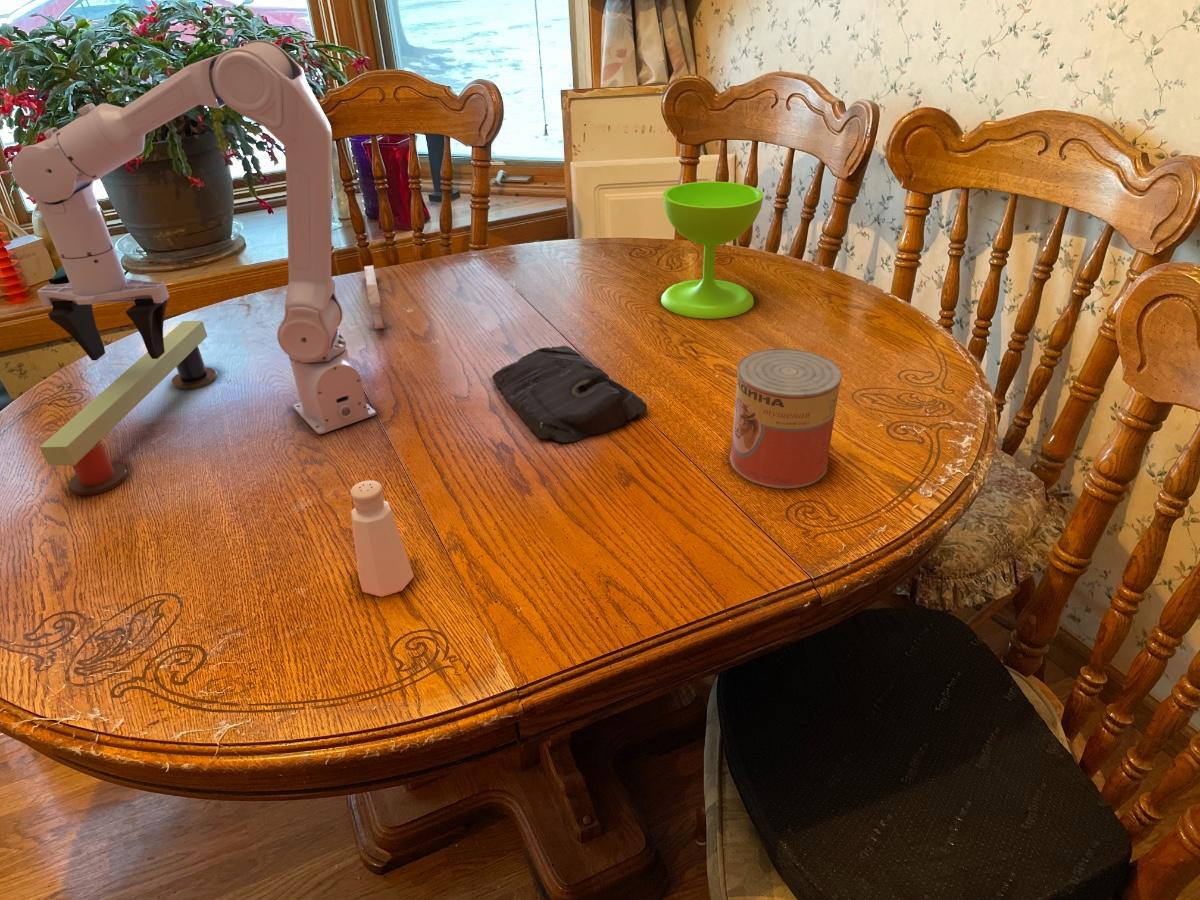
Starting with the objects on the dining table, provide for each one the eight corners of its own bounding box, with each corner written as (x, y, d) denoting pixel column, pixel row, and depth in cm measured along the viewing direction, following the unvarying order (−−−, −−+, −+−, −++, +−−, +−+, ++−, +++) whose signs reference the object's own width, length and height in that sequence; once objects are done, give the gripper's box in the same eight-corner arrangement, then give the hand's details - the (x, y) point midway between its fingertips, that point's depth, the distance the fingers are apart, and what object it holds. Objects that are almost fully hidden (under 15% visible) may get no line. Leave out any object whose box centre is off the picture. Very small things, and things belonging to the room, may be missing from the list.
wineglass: (647, 290, 139) (648, 187, 129) (729, 278, 143) (736, 177, 133) (681, 324, 126) (685, 212, 116) (771, 310, 130) (781, 201, 120)
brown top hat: (222, 380, 113) (212, 349, 111) (178, 393, 110) (167, 362, 108) (210, 366, 117) (200, 336, 115) (168, 379, 114) (156, 348, 112)
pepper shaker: (418, 559, 79) (401, 469, 73) (409, 596, 74) (389, 504, 68) (365, 561, 79) (343, 471, 73) (352, 599, 74) (327, 506, 68)
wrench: (378, 293, 149) (387, 338, 123) (368, 294, 148) (375, 339, 122) (370, 250, 145) (378, 287, 119) (360, 251, 145) (365, 289, 119)
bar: (75, 465, 86) (66, 446, 85) (48, 466, 86) (39, 447, 85) (207, 336, 115) (202, 320, 113) (187, 336, 115) (182, 321, 113)
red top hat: (132, 482, 92) (117, 446, 89) (75, 502, 89) (57, 465, 86) (121, 461, 96) (106, 426, 93) (66, 479, 93) (49, 443, 90)
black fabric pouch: (580, 354, 118) (579, 325, 115) (655, 419, 101) (656, 386, 98) (485, 378, 112) (481, 348, 109) (548, 450, 95) (545, 417, 93)
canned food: (713, 447, 95) (719, 358, 88) (793, 428, 98) (804, 341, 92) (760, 498, 86) (771, 403, 80) (847, 475, 89) (863, 383, 83)
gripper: (2, 263, 87) (52, 372, 95) (130, 260, 87) (170, 369, 94) (41, 243, 93) (85, 347, 101) (160, 240, 93) (196, 344, 100)
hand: (128, 356), depth 98 cm, fingers open, 7 cm apart
